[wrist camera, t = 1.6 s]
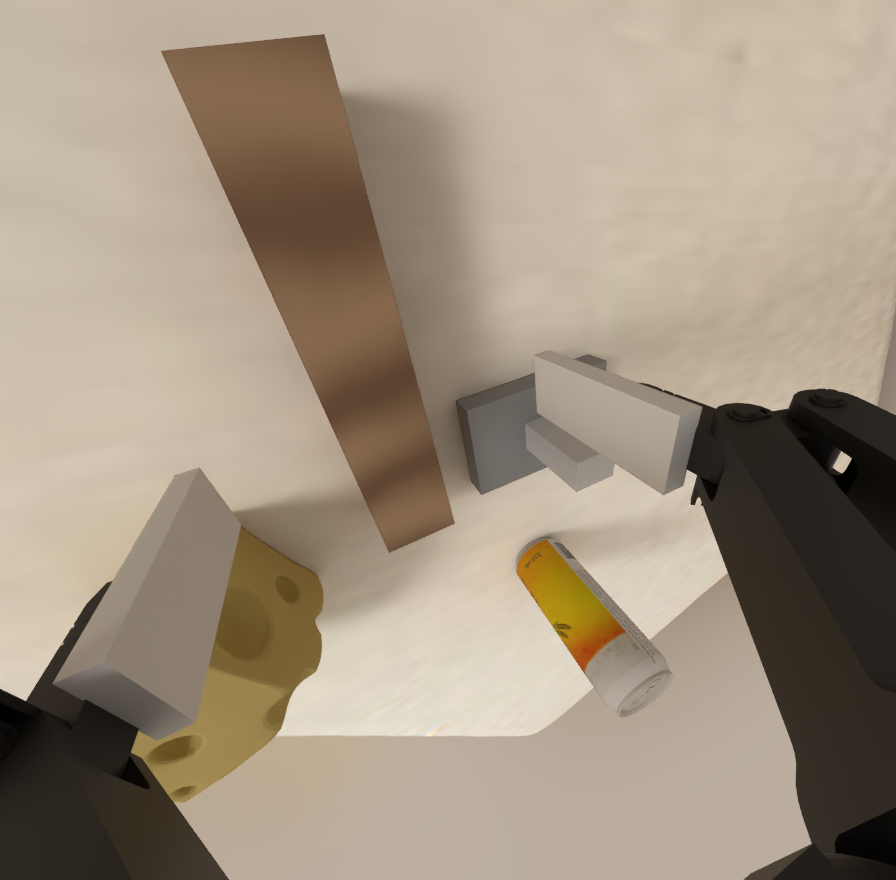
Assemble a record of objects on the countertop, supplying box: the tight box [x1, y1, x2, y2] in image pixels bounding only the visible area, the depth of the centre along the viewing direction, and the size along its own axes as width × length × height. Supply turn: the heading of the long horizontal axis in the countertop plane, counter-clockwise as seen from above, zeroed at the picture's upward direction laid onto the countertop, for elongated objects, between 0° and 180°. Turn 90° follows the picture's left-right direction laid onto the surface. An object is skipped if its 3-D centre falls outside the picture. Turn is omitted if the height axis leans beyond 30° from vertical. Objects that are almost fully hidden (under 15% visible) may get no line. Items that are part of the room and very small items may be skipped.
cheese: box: [61, 528, 323, 802], centre depth 21 cm, size 10×11×10 cm
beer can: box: [516, 537, 673, 717], centre depth 32 cm, size 6×6×15 cm
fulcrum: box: [456, 355, 614, 495], centre depth 25 cm, size 8×12×8 cm, turn 101°
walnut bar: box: [161, 34, 455, 553], centre depth 19 cm, size 24×5×5 cm, turn 12°
